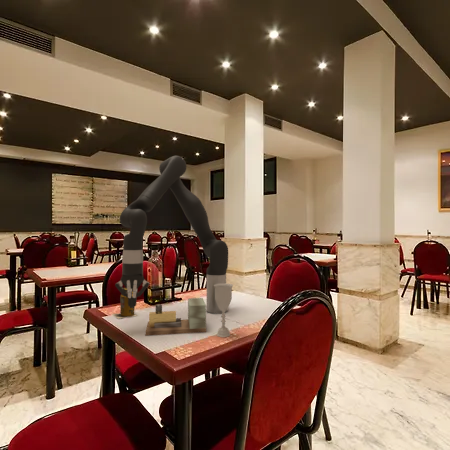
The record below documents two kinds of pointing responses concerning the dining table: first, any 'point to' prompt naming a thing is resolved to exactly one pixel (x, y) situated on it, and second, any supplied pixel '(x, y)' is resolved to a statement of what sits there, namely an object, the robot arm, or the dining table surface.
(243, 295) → the dining table surface
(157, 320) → the tan box
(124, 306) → the condiment
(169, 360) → the dining table surface
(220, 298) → the chalice
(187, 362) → the dining table surface
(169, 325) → the brown board with blocks
